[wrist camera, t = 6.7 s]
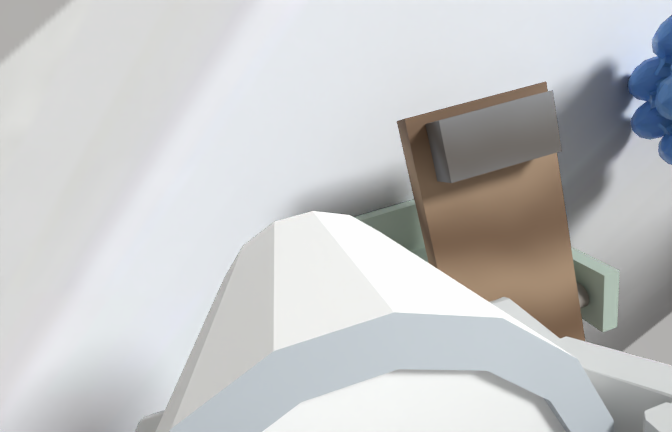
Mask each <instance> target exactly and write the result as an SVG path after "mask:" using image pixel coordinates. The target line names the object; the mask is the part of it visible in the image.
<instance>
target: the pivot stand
mask: <svg viewBox="0 0 672 432" xmlns="http://www.w3.org/2000/svg"><path fill="white" fill-rule="evenodd" d="M354 218H356V219H358V220H360V221H361V222H363V223H365V224H367V225H368V226H370V227H372V228H374V229H376V230H377V231H379V232H381V233H382V234H384V235H385V236H387V237H389V238H390V239H392V240H393V241H395V242H396V243H398V244H400V245H401V246H403V247H404V248H406V249H407V250H409V251H410V252H412V253H414V254H415V255H417V256H418V257H420V258H421V259H423V260H424V261H426V262H428V258H427V253H426V249H425V245H424V240H423V236H422V231H421V227H420V222H419V218H418V213H417V209H416V204H415V200H414V199H413V200H410V201H406V202H403V203H400V204H396V205H393V206H389V207H386V208H383V209H379V210H376V211H372V212H369V213H366V214H362V215H359V216H355V217H354ZM571 250H572V257H573V263H574V270H575V277H576V282H578V283H580V284H581V285H582V286H583V287H584V288H585V289H586V291H587V293H588V296H589V304H588V305H587V306H585V307H582V308H580V310H581V316H582V318H583V319H584V320H585V321H587V322H588V323H590V324H591V325H593V326H594V327H596V328H597V329H599V330H600V331H601V332H605V331H608V330H611V329H614V328H616V327H617V318H618V296H619V274H620V270H618V269H615V268H613V267H611V266H609V265H607V264H605V263H603V262H601V261H599V260H597V259H595V258H593V257H591V256H589V255H587V254H585V253H583V252H581V251H579V250H577V249H574V248H572V247H571ZM428 263H429V262H428Z"/></svg>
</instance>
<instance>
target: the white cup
mask: <svg viewBox="0 0 672 432" xmlns="http://www.w3.org/2000/svg"><path fill="white" fill-rule="evenodd" d="M156 432H614V420H613V418H612V417H611V415H610V413H609V411H608V410H607V408H606V406H605V405H604V403H603V401H602V399H601V398H600V396H599V394H598V393H597V391H596V389H595V388H594V386H593V384H592V382H591V381H590V379H589V377H588V376H587V374H586V372H585V370H584V369H583V367H582V365H581V364H580V362H579V360H578V359H577V358H576V357H574V356H572V355H571V354H569V353H568V352H566V351H565V350H563V349H562V348H560V347H558V346H557V345H555V344H554V343H552V342H551V341H549V340H548V339H546V338H544V337H543V336H541V335H540V334H538V333H537V332H535V331H533V330H532V329H530V328H529V327H527V326H526V325H524V324H523V323H521V322H519V321H518V320H516V319H515V318H513V317H512V316H510V315H509V314H507V313H505V312H504V311H502V310H501V309H499V308H498V307H496V306H495V305H493V304H491V303H490V302H488V301H487V300H485V299H484V298H482V297H481V296H479V295H477V294H476V293H474V292H473V291H471V290H470V289H468V288H466V287H465V286H463V285H462V284H460V283H459V282H457V281H456V280H454V279H452V278H451V277H449V276H448V275H446V274H445V273H443V272H442V271H440V270H438V269H437V268H435V267H434V266H432V265H431V264H429V263H428V262H426V261H424V260H423V259H421V258H420V257H418V256H417V255H415V254H414V253H412V252H410V251H409V250H407V249H406V248H404V247H403V246H401V245H400V244H398V243H396V242H395V241H393V240H392V239H390V238H389V237H387V236H385V235H384V234H382V233H381V232H379V231H377V230H376V229H374V228H372V227H370V226H368V225H367V224H365V223H363V222H361V221H360V220H358V219H356V218H354V217H352V216H351V215H345V214H336V213H327V212H318V211H310V212H307V213H303V214H300V215H296V216H293V217H289V218H285V219H282V220H278V221H275V222H273V223H272V224H271V225H269V226H268V227H267V228H265V229H264V230H263V231H261V232H260V233H259V234H257V235H256V236H255V237H253V238H252V239H251V240H250V241H248V242H247V243H246V244H244V245H243V246H242V248H241V250H240V252H239V253H238V255H237V257H236V258H235V260H234V262H233V264H232V265H231V267H230V269H229V271H228V272H227V274H226V276H225V277H224V279H223V282H222V284H221V286H220V288H219V291H218V293H217V295H216V297H215V300H214V302H213V304H212V306H211V309H210V311H209V313H208V315H207V318H206V320H205V322H204V324H203V327H202V329H201V331H200V333H199V335H198V338H197V340H196V342H195V344H194V347H193V349H192V351H191V353H190V356H189V358H188V360H187V362H186V365H185V367H184V369H183V371H182V374H181V376H180V378H179V380H178V382H177V385H176V387H175V389H174V391H173V394H172V396H171V398H170V400H169V403H168V405H167V407H166V409H165V412H164V414H163V416H162V418H161V421H160V423H159V425H158V427H157V429H156Z"/></svg>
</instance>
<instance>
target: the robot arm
mask: <svg viewBox="0 0 672 432" xmlns="http://www.w3.org/2000/svg"><path fill="white" fill-rule="evenodd" d="M490 303H491V304H493V305H495V306H496V307H498V308H499V309H501V310H502V311H504V312H505V313H507V314H509V315H510V316H512V317H513V318H515V319H516V320H518V321H519V322H521V323H523V324H524V325H526V326H527V327H529V328H530V329H532V330H533V331H535V332H537V333H538V334H540V335H541V336H543V337H544V338H546V339H548V340H549V341H551V342H552V343H554V344H555V345H557V346H558V347H560V348H562V349H563V350H565V351H566V352H568V353H569V354H571V355H572V356H574V357H576V358H577V359H578V360H579V362H580V364H581V365H582V367H583V369H584V370H585V372H586V374H587V376H588V377H589V379H590V381H591V382H592V384H593V386H594V388H595V389H596V391H597V393H598V394H599V396H600V398H601V399H602V401H603V403H604V405H605V406H606V408H607V410H608V411H609V413H610V415H611V417H612V418H613V420H614V432H672V365H669V364H666V363H662V362H658V361H654V360H651V359H647V358H644V357H640V356H637V355H633V354H629V353H625V352H622V351H618V350H615V349H611V348H607V347H604V346H600V345H596V344H593V343H589V342H585V341H582V340H578V339H574V338H571V337H567V336H566V337H563V338H559V337H557V336H556V335H555V334H554V333H552V332H551V331H550V330H549V329H547V328H546V327H545V326H544V325H542V324H541V323H540V322H538V321H537V320H536V319H535V318H533V317H532V316H531V315H530V314H528V313H527V312H526V311H525V310H523V309H522V308H521V307H520V306H518V305H517V304H516V303H515V302H513V301H512V300H511V299H509V298H507V297H502V298H499V299H496V300H494V301H491V302H490ZM164 412H165V410H164V411H160V412H157V413H154V414H151V415H148V416H145V417H143V418H142V420H141V421H140V422H139V423H138V426H137V429H136V432H156V429H157V427H158V425H159V423H160V421H161V418H162V416H163V414H164Z"/></svg>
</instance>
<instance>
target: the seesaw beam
mask: <svg viewBox="0 0 672 432" xmlns="http://www.w3.org/2000/svg"><path fill="white" fill-rule="evenodd" d="M397 124H398V129H399V133H400V138H401V142H402V147H403V151H404V155H405V160H406V164H407V169H408V173H409V178H410V182H411V187H412V191H413V196H414V200H415V204H416V209H417V213H418V218H419V222H420V227H421V231H422V236H423V240H424V245H425V249H426V253H427V258H428V262H429V264H431V265H432V266H434V267H435V268H437V269H438V270H440V271H442V272H443V273H445V274H446V275H448V276H449V277H451V278H452V279H454V280H456V281H457V282H459V283H460V284H462V285H463V286H465V287H466V288H468V289H470V290H471V291H473V292H474V293H476V294H477V295H479V296H481V297H482V298H484V299H485V300H487V301H488V302H491V301H494V300H496V299H499V298H502V297H507V298H509V299H511V300H512V301H513V302H515V303H516V304H517V305H518V306H520V307H521V308H522V309H523V310H525V311H526V312H527V313H528V314H530V315H531V316H532V317H533V318H535V319H536V320H537V321H538V322H540V323H541V324H542V325H544V326H545V327H546V328H547V329H549V330H550V331H551V332H552V333H554V334H555V335H556V336H557V337H559V338H563V337H566V336H567V337H571V338H574V339H578V340H582V341H585V336H584V330H583V323H582V316H581V310H580V308H582V307H585V306H587V305H588V304H589V296H588V293H587V291H586V289H585V288H584V287H583V286H582V285H581V284H580V283H578V282H576V277H575V270H574V263H573V257H572V250H571V243H570V237H569V230H568V223H567V217H566V210H565V203H564V197H563V190H562V183H561V177H560V170H559V163H558V157H557V152H560V151H562V149H561V143H560V136H559V129H558V122H557V116H556V109H555V102H554V95H553V90H552V91H548V90H547V83H546V82H543V83H539V84H535V85H531V86H527V87H524V88H520V89H516V90H512V91H509V92H505V93H501V94H497V95H493V96H490V97H486V98H482V99H478V100H474V101H471V102H467V103H463V104H459V105H455V106H452V107H448V108H444V109H440V110H437V111H433V112H429V113H425V114H421V115H418V116H414V117H410V118H406V119H403V120H399V121H397Z"/></svg>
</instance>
